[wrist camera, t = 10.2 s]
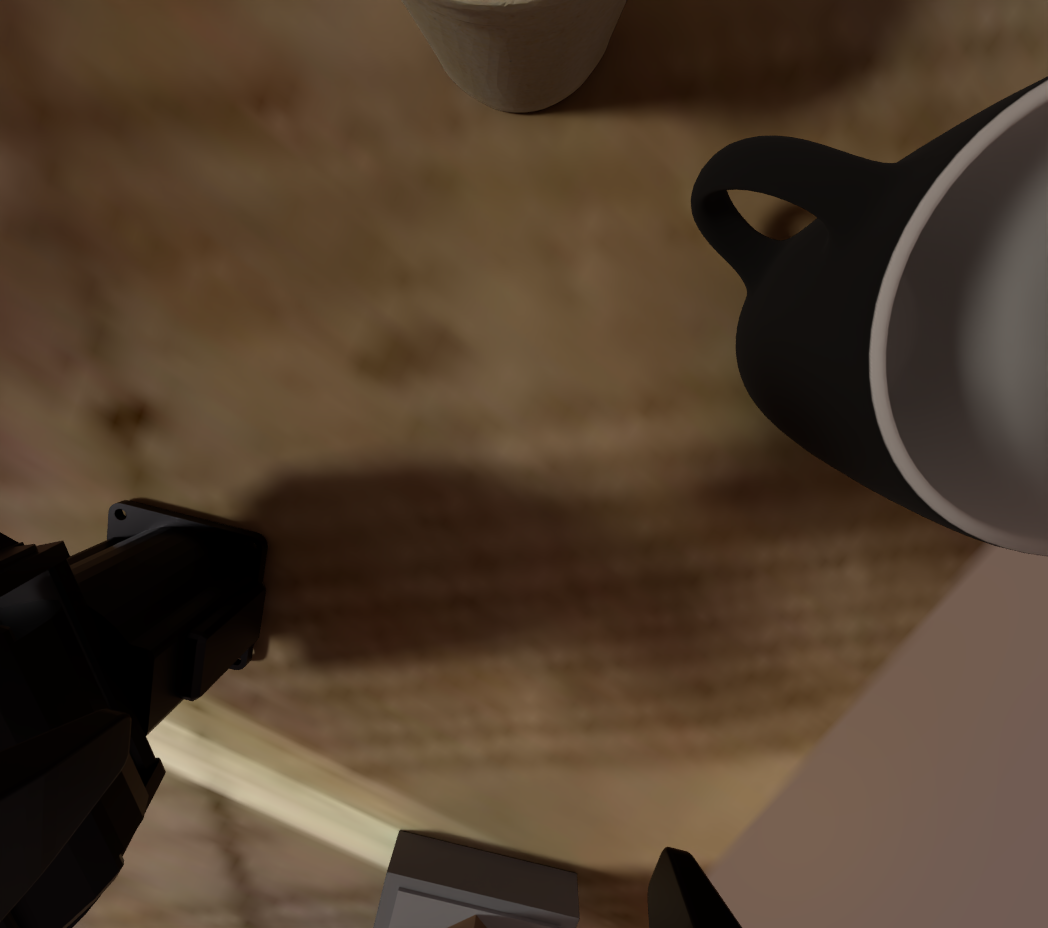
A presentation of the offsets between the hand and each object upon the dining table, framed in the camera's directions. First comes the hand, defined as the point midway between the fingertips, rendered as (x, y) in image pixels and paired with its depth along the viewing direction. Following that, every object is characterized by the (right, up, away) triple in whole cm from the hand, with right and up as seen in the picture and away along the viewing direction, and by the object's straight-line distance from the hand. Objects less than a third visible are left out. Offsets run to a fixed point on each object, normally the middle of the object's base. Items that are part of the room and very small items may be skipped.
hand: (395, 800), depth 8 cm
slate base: (-1, -18, +18) cm, 25 cm away
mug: (+12, +11, +10) cm, 19 cm away
